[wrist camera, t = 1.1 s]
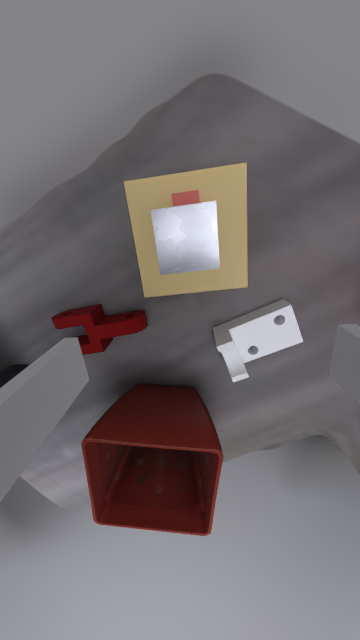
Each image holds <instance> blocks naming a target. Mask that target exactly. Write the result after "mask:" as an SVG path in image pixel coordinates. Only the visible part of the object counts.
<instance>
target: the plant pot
mask: <svg viewBox="0 0 360 640" xmlns="http://www.w3.org/2000/svg"><path fill="white" fill-rule="evenodd" d="M82 451H83V456H84V462H85V469H86V475H87V481H88V487H89V493H90V499H91V506H92V514H93V519H94V521H95V522H96V523H97V524H101V525H108V526H118V527H128V528H136V529H145V530H155V531H164V532H172V533H181V534H190V535H200V536H205V535H209V534H210V533H211V529H212V522H213V515H214V508H215V501H216V496H217V490H218V484H219V478H220V472H221V467H222V461H223V453H222V449H221V445H220V442H219V438H218V435H217V432H216V429H215V427H214V424H213V421H212V419H211V416H210V414H209V412H208V410H207V408H206V406H205V404H204V402H203V400H202V398H201V397H200V395H199V394H198V392H197V391H196V390H195V389H194V388H188V387H175V386H163V385H151V384H138V385H136V386H134V387H133V388H132V389H130V390H129V391H128V392H126V393H125V394H124V395H123V396H122V397H121V398H119V399H118V400H117V401H116V402H115V403H114V404H113V405H112V406H111V407H110V408H109V409H108V410H107V411H106V412H105V414H104V415H103V416H102V417H101V418H100V419H99V420H98V421H97V423H96V424H95V425H94V426H93V427H92V429H91V430H90V431H89V432H88V434H87V435H86V437H85V438H84V439H83V441H82Z"/></svg>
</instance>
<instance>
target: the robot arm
mask: <svg viewBox="0 0 360 640" xmlns="http://www.w3.org/2000/svg"><path fill="white" fill-rule="evenodd" d="M329 374H330V375H331V376H332V377H333V378H334V379H335V380H336V381H337V382H338V383H339V384H340V385H341V387H342V388H343V389H344V390H345V391H346V392H347V393H348V394H349V395H350V396H351V397H352V398H353V399H354V400H355V401H356V402H357V403H358V404H359V405H360V326H358V325H356V324H342V325H338V327H337V333H336V338H335V343H334V349H333V354H332V359H331V364H330V370H329ZM88 382H89V376H88V373H87V369H86V366H85V362H84V359H83V355H82V351H81V348H80V344H79V341H78V337H75V338H63V339H62V340H61V341H60V342H58V343H57V344H56V345H55V346H53V347H52V348H51V349H49V350H48V351H47V352H46V353H44V354H43V355H42V356H41V357H39V358H38V359H37V360H36V361H34V362H33V363H32V364H30V365H13V366H10V367H8V368H6V369H4V370H3V371H2V372H0V502H1V501H2V499H3V498H4V497H5V495H6V494H7V493H8V491H9V490H10V488H11V487H12V486H13V484H14V483H15V482H16V480H17V479H18V477H19V476H20V475H21V473H22V472H23V471H24V469H25V468H26V466H27V465H28V464H29V462H30V461H31V460H32V458H33V457H34V456H35V454H36V453H37V451H38V450H39V449H40V447H41V446H42V445H43V443H44V442H45V440H46V439H47V438H48V436H49V435H50V434H51V432H52V431H53V430H54V428H55V427H56V425H57V424H58V423H59V421H60V420H61V419H62V417H63V416H64V414H65V413H66V412H67V410H68V409H69V408H70V406H71V405H72V403H73V402H74V401H75V399H76V398H77V397H78V395H79V394H80V393H81V391H82V390H83V388H84V387H85V386H86V384H87V383H88Z"/></svg>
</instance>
